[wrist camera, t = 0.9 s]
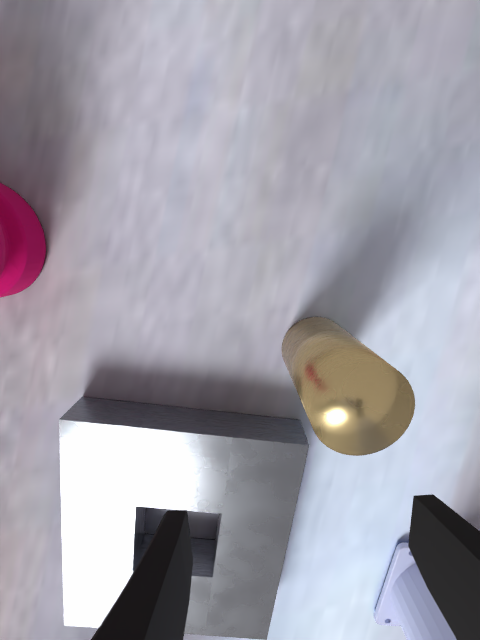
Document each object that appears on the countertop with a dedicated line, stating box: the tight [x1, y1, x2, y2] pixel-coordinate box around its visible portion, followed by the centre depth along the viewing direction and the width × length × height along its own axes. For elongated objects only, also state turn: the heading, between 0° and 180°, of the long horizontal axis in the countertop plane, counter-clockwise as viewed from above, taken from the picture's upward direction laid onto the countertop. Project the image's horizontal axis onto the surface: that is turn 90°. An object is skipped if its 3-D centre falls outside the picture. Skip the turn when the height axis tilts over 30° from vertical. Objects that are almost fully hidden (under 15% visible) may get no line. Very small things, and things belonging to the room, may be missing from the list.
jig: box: [59, 397, 309, 640], centre depth 19 cm, size 14×16×2 cm
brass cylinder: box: [282, 317, 415, 456], centre depth 14 cm, size 4×4×7 cm
